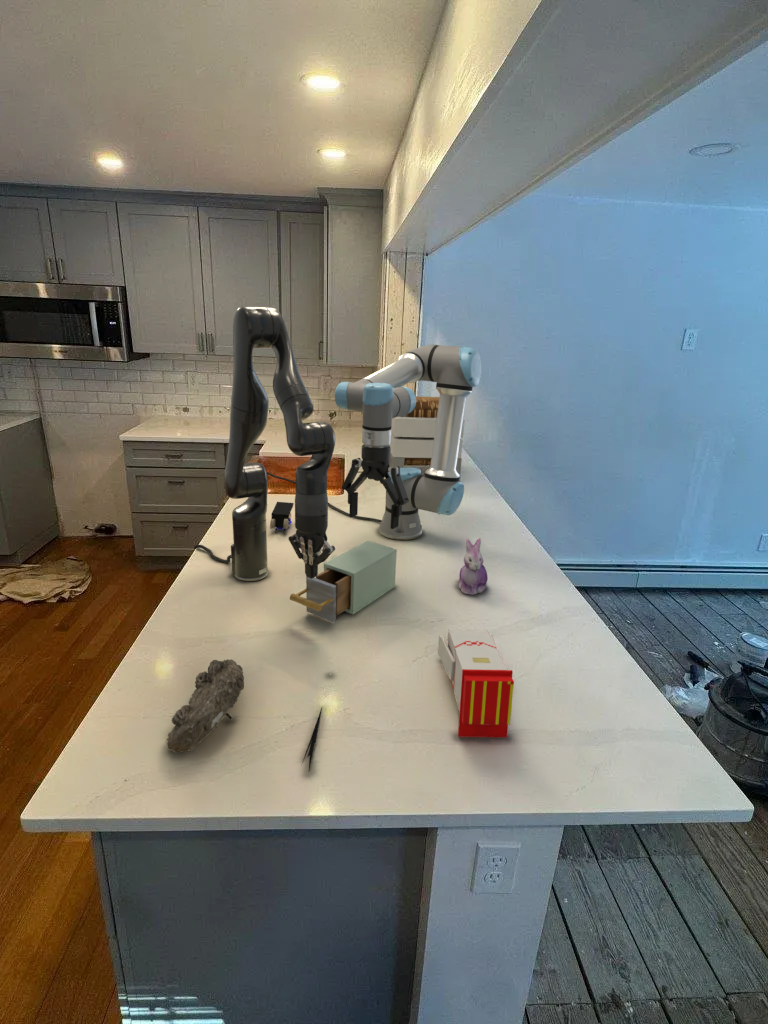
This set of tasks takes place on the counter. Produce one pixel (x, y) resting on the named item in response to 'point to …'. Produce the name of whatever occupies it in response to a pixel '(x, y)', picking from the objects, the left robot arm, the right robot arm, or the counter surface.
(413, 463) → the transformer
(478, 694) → the toy
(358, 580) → the cabinet
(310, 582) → the drawer
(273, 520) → the figurine character
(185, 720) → the fossil
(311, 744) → the feather
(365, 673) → the counter surface
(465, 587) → the figurine
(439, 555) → the counter surface
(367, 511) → the counter surface
